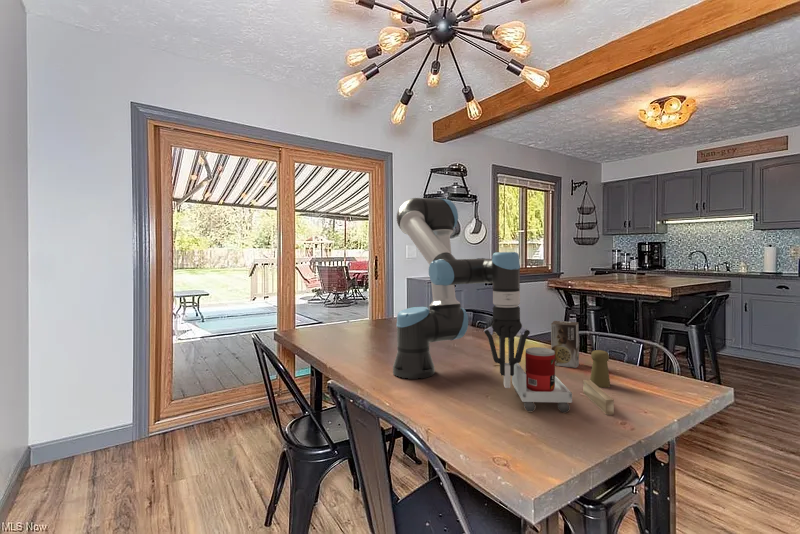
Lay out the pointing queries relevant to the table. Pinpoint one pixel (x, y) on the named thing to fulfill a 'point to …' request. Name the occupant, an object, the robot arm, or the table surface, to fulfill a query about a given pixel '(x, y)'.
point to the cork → (600, 369)
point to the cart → (529, 396)
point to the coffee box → (565, 343)
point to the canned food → (540, 369)
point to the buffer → (598, 397)
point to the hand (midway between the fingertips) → (507, 386)
